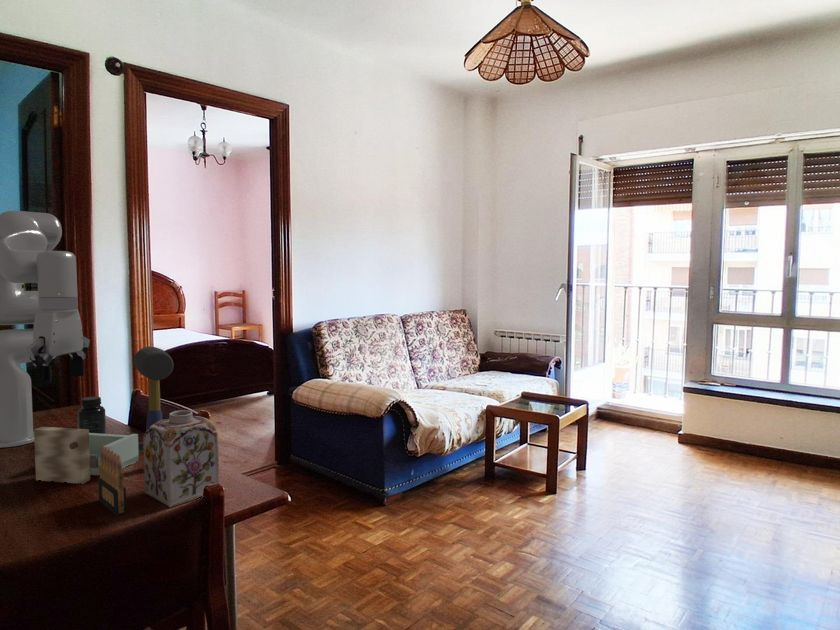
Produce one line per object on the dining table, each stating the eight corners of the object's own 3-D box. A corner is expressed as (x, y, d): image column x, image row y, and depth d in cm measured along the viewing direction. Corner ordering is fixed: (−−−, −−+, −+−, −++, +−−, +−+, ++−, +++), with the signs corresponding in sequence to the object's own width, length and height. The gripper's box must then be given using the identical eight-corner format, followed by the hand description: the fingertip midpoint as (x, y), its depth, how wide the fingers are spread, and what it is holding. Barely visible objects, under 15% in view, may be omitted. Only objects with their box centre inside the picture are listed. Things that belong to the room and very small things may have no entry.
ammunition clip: (98, 500, 118) (96, 445, 117) (108, 498, 119) (106, 443, 118) (116, 515, 110) (115, 456, 109) (126, 513, 112) (125, 454, 111)
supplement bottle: (83, 436, 162) (82, 396, 161) (109, 435, 164) (108, 395, 163) (74, 443, 155) (73, 401, 155) (101, 442, 157) (100, 400, 156)
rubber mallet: (178, 472, 134) (175, 349, 132) (144, 478, 130) (141, 351, 128) (166, 458, 144) (163, 343, 142) (134, 463, 140) (131, 345, 138)
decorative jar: (194, 479, 130) (192, 403, 129) (221, 491, 123) (220, 412, 122) (142, 494, 121) (140, 413, 120) (168, 509, 114) (166, 422, 112)
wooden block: (32, 481, 127) (30, 430, 126) (44, 476, 131) (42, 426, 130) (79, 485, 126) (77, 433, 125) (90, 480, 129) (88, 429, 128)
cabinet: (44, 471, 134) (43, 443, 133) (79, 456, 145) (78, 430, 144) (108, 476, 131) (107, 447, 131) (138, 460, 142) (138, 434, 142)
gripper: (72, 303, 136) (75, 373, 137) (11, 307, 119) (14, 386, 120) (100, 303, 135) (103, 373, 136) (42, 307, 117) (45, 387, 119)
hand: (61, 379), depth 128 cm, fingers open, 9 cm apart
